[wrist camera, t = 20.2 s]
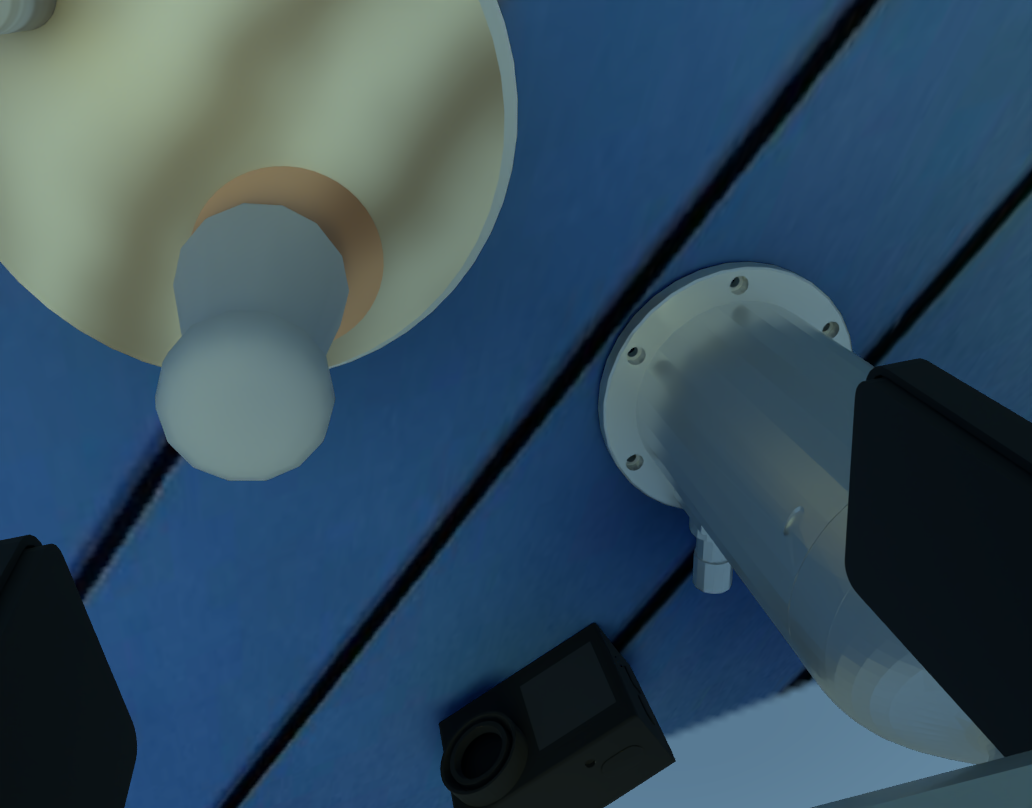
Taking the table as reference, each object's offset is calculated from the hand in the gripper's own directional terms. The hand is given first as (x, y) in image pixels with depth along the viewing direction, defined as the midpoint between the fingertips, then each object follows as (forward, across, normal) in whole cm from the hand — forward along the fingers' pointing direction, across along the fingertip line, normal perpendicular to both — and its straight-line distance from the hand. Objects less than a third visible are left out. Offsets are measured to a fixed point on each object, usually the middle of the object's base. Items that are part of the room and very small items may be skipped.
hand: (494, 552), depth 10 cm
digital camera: (+28, -3, +29) cm, 40 cm away
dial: (+27, +4, -2) cm, 28 cm away
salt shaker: (+24, +5, +3) cm, 25 cm away
